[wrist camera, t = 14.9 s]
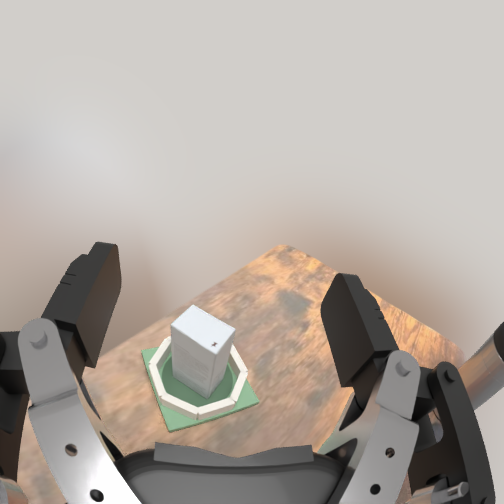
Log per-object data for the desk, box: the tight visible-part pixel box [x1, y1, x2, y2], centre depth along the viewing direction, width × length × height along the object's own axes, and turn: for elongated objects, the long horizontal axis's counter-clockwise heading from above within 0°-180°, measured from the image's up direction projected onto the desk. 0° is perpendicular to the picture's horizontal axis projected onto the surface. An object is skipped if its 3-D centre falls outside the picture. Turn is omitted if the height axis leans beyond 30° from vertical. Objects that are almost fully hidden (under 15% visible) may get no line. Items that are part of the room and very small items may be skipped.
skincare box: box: [171, 305, 236, 399], centre depth 32 cm, size 6×4×12 cm
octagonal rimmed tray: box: [141, 336, 259, 432], centre depth 35 cm, size 13×13×4 cm
